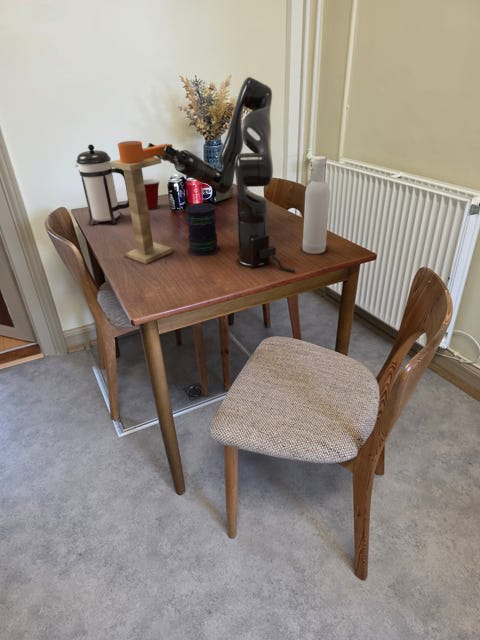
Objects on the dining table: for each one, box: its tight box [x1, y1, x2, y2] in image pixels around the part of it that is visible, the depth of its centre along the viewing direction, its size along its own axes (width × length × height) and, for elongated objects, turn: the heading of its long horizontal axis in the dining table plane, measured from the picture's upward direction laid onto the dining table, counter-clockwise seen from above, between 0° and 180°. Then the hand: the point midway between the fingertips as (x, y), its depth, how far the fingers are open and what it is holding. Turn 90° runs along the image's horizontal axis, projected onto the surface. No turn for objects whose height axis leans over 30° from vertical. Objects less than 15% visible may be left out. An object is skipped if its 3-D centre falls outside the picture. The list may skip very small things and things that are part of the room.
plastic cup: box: [143, 178, 161, 211], centre depth 187 cm, size 11×11×12 cm
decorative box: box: [204, 186, 234, 204], centre depth 192 cm, size 13×20×10 cm, turn 134°
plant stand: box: [109, 156, 173, 265], centre depth 136 cm, size 12×10×31 cm
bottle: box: [302, 155, 331, 255], centre depth 136 cm, size 8×8×30 cm
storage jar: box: [185, 202, 218, 256], centre depth 143 cm, size 10×10×15 cm
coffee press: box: [74, 144, 130, 226], centre depth 169 cm, size 17×16×30 cm
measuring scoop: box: [117, 140, 173, 163], centre depth 130 cm, size 19×7×5 cm, turn 141°
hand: (156, 147), depth 133 cm, fingers open, 7 cm apart
